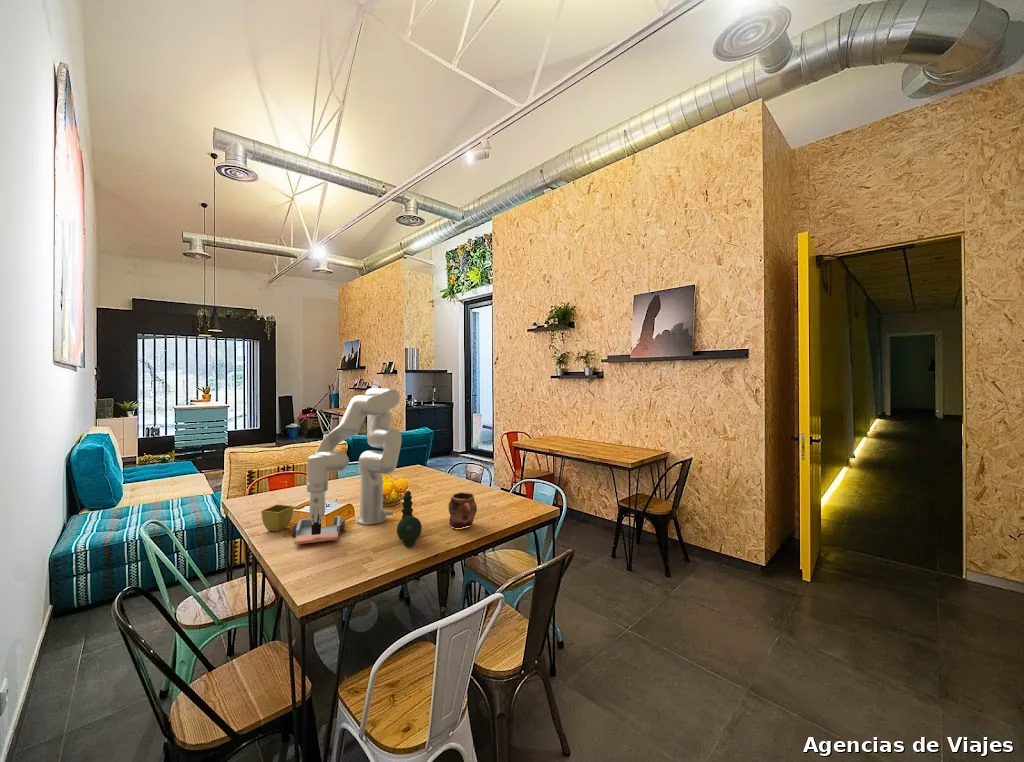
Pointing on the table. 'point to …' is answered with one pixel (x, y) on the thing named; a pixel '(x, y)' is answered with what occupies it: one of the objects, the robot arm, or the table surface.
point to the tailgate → (316, 537)
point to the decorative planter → (462, 510)
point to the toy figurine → (408, 523)
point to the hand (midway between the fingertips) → (316, 533)
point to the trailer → (306, 527)
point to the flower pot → (277, 517)
